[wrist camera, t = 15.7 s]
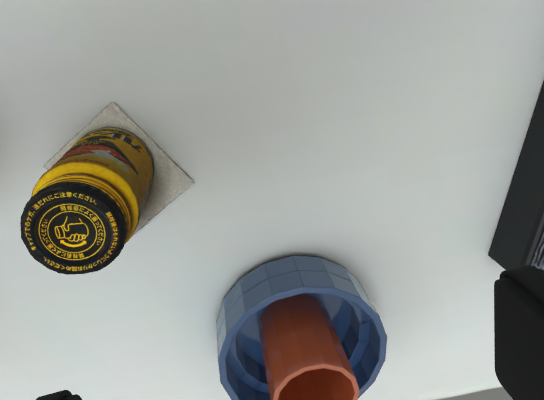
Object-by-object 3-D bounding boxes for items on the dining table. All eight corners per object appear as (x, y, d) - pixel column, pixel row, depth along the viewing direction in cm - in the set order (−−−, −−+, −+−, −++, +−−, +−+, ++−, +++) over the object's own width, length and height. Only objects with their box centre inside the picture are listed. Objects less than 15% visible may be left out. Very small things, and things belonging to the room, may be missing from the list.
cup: (296, 280, 39) (321, 349, 31) (342, 321, 42) (376, 395, 34) (243, 325, 40) (253, 403, 32) (291, 362, 43) (311, 444, 35)
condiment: (112, 100, 32) (65, 144, 21) (194, 181, 35) (190, 256, 24) (43, 165, 33) (-36, 239, 22) (129, 237, 36) (96, 334, 25)
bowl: (299, 221, 38) (314, 253, 33) (393, 314, 43) (418, 353, 38) (184, 323, 40) (181, 367, 35) (286, 399, 46) (297, 446, 40)
